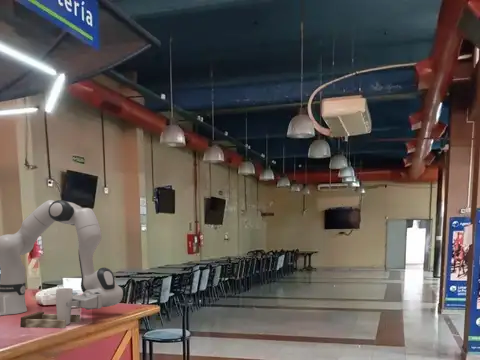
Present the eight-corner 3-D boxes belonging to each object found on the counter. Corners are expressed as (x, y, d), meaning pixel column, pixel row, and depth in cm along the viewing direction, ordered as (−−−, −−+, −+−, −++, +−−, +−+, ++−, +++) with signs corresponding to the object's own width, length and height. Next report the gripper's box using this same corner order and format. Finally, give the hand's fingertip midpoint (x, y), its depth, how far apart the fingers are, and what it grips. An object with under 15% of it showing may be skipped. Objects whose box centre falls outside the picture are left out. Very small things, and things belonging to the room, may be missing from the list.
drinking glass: (66, 326, 191) (67, 290, 193) (51, 326, 193) (52, 290, 194) (74, 323, 198) (75, 288, 200) (60, 322, 199) (61, 288, 201)
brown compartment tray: (20, 327, 192) (20, 317, 192) (38, 320, 204) (38, 311, 205) (63, 328, 188) (64, 318, 189) (79, 321, 201) (80, 312, 202)
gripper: (78, 290, 213) (50, 294, 203) (103, 294, 200) (75, 298, 190) (77, 304, 213) (49, 308, 202) (103, 308, 200) (74, 313, 189)
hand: (62, 303), depth 196 cm, fingers closed on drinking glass, 6 cm apart
